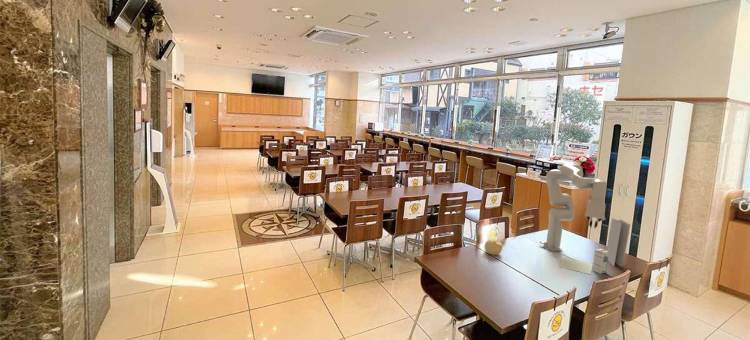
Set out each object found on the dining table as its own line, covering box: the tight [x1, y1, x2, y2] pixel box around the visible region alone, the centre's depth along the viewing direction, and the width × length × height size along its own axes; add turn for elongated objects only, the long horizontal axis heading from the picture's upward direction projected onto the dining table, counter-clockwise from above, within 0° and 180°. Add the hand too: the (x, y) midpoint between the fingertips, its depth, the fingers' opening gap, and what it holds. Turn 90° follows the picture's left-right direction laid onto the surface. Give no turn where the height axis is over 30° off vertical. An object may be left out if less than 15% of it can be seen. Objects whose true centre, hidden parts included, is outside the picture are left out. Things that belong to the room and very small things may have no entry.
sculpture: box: [484, 238, 503, 256], centre depth 254 cm, size 11×12×11 cm
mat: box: [559, 257, 593, 275], centre depth 241 cm, size 18×20×1 cm
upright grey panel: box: [606, 217, 631, 268], centre depth 248 cm, size 14×6×30 cm, turn 168°
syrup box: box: [592, 248, 609, 274], centre depth 233 cm, size 6×6×14 cm
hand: (592, 227), depth 231 cm, fingers closed
